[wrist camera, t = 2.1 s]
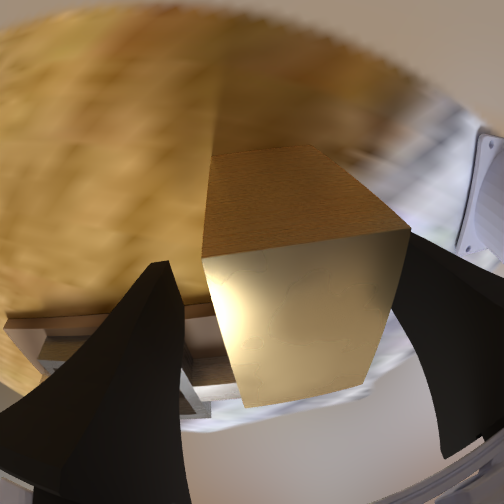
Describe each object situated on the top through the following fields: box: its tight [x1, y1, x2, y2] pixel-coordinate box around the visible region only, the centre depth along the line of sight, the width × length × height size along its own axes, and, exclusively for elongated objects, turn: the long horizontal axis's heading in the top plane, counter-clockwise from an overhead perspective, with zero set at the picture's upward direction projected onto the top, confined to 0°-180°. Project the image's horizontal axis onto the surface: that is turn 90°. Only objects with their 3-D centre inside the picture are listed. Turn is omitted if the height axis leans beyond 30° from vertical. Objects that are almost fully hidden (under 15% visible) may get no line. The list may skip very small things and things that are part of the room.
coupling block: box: [201, 145, 411, 408], centre depth 9 cm, size 4×6×7 cm, turn 6°
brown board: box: [3, 302, 241, 419], centre depth 16 cm, size 19×9×3 cm, turn 96°
